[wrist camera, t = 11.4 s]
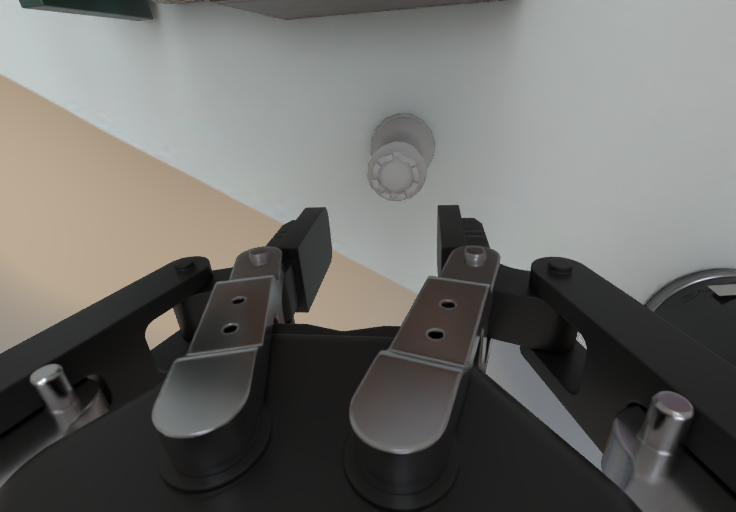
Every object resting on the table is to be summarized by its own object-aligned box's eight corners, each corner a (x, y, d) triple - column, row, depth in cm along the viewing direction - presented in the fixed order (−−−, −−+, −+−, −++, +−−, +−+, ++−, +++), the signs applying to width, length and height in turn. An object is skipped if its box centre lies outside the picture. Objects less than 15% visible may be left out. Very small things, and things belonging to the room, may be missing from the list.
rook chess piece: (432, 108, 27) (434, 128, 19) (437, 173, 28) (441, 213, 21) (366, 117, 27) (346, 140, 20) (376, 180, 29) (360, 221, 22)
